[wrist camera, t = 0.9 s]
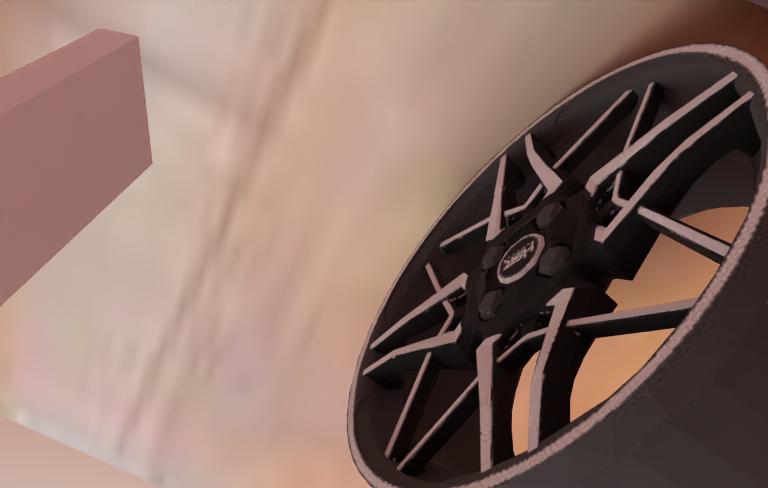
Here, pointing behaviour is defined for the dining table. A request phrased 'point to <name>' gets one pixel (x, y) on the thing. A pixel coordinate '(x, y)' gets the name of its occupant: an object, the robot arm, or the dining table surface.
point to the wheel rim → (585, 297)
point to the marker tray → (760, 3)
